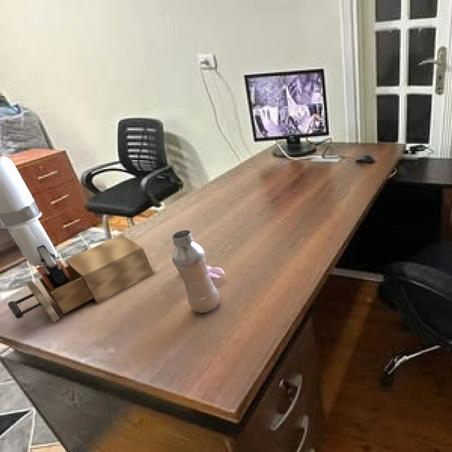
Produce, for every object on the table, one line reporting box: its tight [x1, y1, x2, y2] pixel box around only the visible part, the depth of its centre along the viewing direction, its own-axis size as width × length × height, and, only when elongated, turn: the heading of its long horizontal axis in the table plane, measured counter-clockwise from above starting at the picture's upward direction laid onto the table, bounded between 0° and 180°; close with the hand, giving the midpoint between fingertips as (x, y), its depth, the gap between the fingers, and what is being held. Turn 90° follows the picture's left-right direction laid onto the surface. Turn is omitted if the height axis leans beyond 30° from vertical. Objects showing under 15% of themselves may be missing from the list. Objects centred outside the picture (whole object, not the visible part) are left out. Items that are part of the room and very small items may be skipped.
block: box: [35, 258, 71, 289], centre depth 84 cm, size 4×4×4 cm
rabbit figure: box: [178, 265, 225, 279], centre depth 91 cm, size 6×6×15 cm
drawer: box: [7, 265, 94, 322], centre depth 86 cm, size 18×11×7 cm, turn 141°
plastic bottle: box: [171, 229, 220, 314], centre depth 78 cm, size 6×7×20 cm
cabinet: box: [64, 234, 154, 304], centre depth 93 cm, size 15×13×9 cm
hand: (57, 280), depth 85 cm, fingers closed on block, 4 cm apart
